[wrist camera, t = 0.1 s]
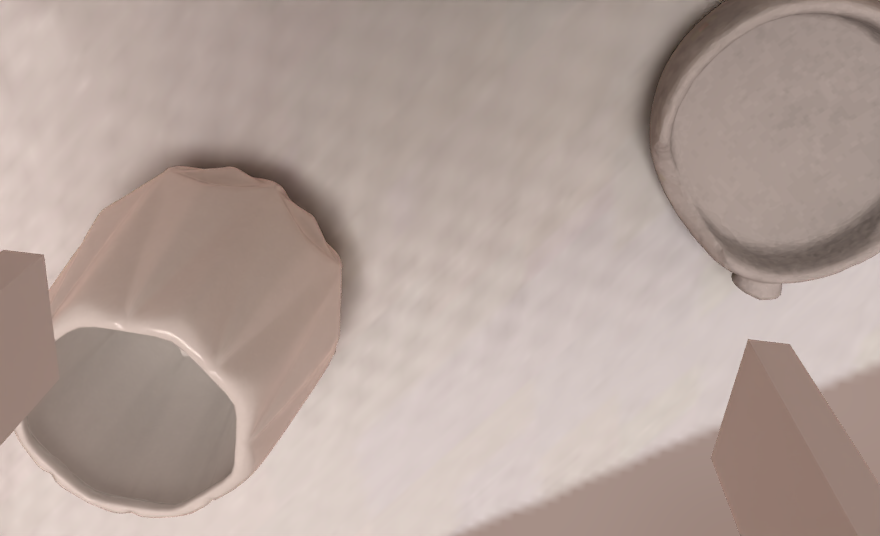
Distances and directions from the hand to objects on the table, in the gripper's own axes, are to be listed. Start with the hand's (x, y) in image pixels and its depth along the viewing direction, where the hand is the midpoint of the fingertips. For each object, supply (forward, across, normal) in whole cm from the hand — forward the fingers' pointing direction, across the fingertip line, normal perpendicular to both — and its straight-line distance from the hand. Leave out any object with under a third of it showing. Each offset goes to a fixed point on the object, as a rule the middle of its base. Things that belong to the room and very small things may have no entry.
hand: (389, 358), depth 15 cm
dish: (+28, +17, -1) cm, 33 cm away
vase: (+28, -11, -13) cm, 33 cm away
